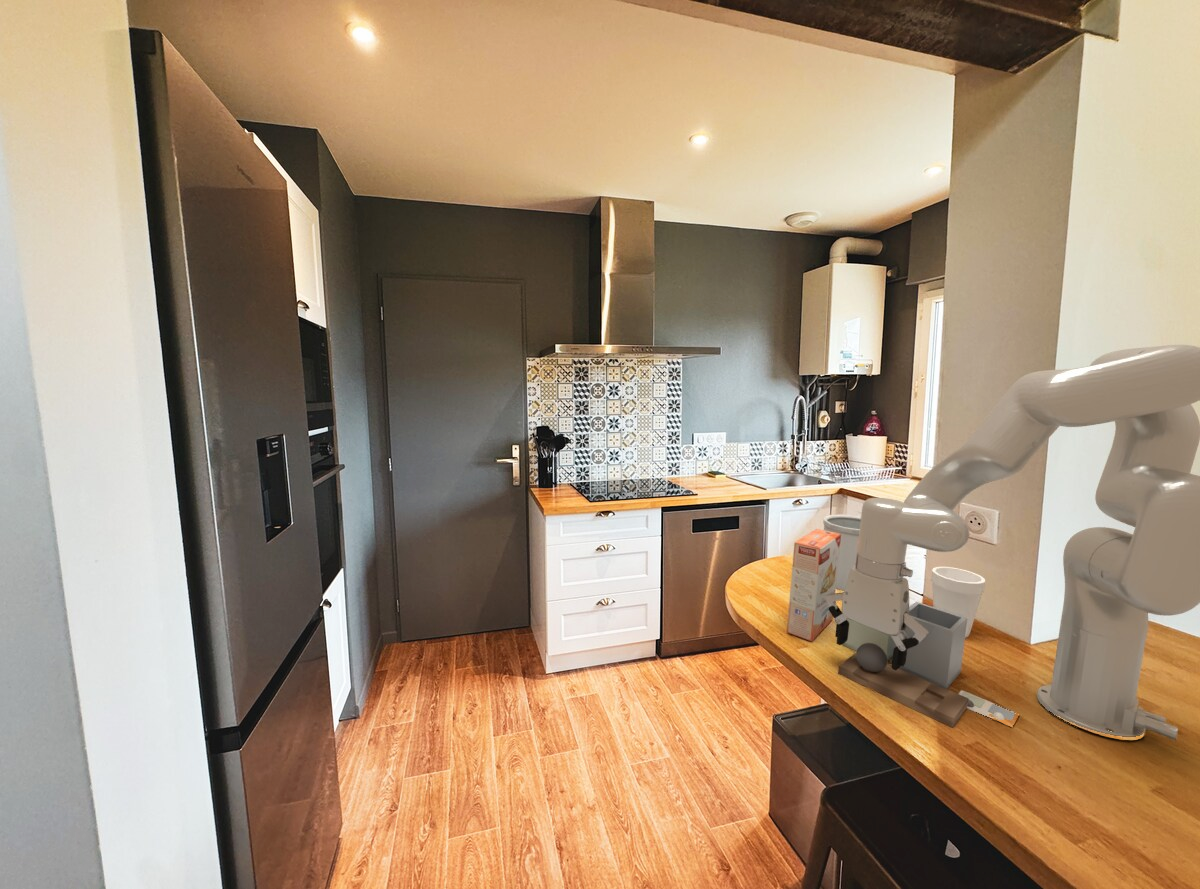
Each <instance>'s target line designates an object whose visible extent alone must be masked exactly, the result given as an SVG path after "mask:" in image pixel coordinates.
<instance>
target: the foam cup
mask: <svg viewBox="0 0 1200 889" xmlns="http://www.w3.org/2000/svg"><path fill="white" fill-rule="evenodd" d="M930 581H931V583H932V584H931V586H932V604H933V606H932V607H935V608H938V609H941V610H944V611H947V612H951V613H954V614H957V615H960V616H963V617H966V618H967V625H966V633H965V639H966V638H968V637H970V634H971V631H972V628H973V624H974V622H975V618H976V614H977V612H978V608H979V605H980V601H981V598H982V595H983V593H985V586H986V579H985V577H983V576H982V575H980V574H978V573H975V572H972V571H971V570H970V571H969V570H967V569H961V568H957V567H952V566H937V567H933V568H932V570H931V578H930Z"/></svg>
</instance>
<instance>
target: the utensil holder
mask: <svg viewBox="0 0 1200 889" xmlns="http://www.w3.org/2000/svg"><path fill="white" fill-rule="evenodd" d="M822 522H823V526H824V527H823V530H824V531H830V532H835V533H838V534H841V542H840V552H839V561H838V571H837V581H836V590H840V591H844V590H845V586H846V582H847V579H848V576H849V573H850V571H851V568H852V567H853V566H854V565H856V556H857V548H858V540H859V531H860V523H861V515H853V514H829V515H826V516H824V518H823V521H822Z"/></svg>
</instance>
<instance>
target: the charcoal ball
mask: <svg viewBox="0 0 1200 889" xmlns="http://www.w3.org/2000/svg"><path fill="white" fill-rule="evenodd" d="M855 653H856V657H857V661H858V663H859V664H860V665H861V667H863V668H864V669H865V670H867V671H869V672H880V671H882V670H883V669H884V668H885V667H886V665H887V664H888V662H887V656H886V654H885V652H884V651H883V649H882V648H880V647H879V646H878V645H876V644H873V643H865V644H862V645H861V646H860V647H859V648H858V649H857V651H855Z"/></svg>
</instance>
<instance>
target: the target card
mask: <svg viewBox="0 0 1200 889" xmlns="http://www.w3.org/2000/svg"><path fill="white" fill-rule="evenodd" d="M958 694H959V695H962V696H964V697H966V698H969V700H968V706H967V709H966V710H969V711H972V712H974V713H976V712H977V713H976V714H978V713H979V714H978V715H980V714H982V715H981V716H983V715H984V717H985V716H987V717H990V718H996V719H998V720H1004V718H1005V719H1007V720H1010V721H1011V720H1012V719H1013V717H1014V715H1015V714H1016V713H1017V712H1016V713H1014V712H1015V711H1013V710H1011V711H1009V710H1010V709H1008V708H1006V709H1004V708H1005V707H1004V708H1002V707H1003V706H1001V705H999V706H997V705H998V704H996V703H993V702H992V701H989V700H987V699H984V698H982V697H980V696H977V695H975V694H973V693H970V692H967V691H966V690H964V689H963V690H962V689H961V690H960V691H959V692H958ZM995 704H996V705H995ZM1000 706H1001V707H1000ZM1007 709H1008V710H1007ZM989 714H993V716H994V717H991V716H989ZM987 717H986V718H987ZM990 718H989V719H990Z"/></svg>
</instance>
